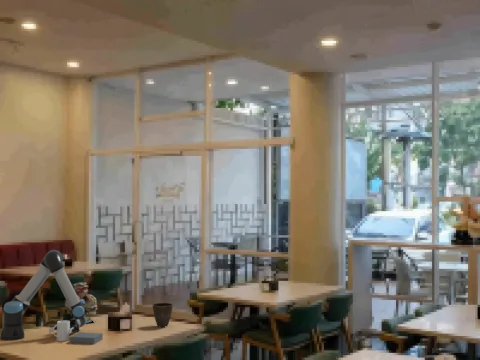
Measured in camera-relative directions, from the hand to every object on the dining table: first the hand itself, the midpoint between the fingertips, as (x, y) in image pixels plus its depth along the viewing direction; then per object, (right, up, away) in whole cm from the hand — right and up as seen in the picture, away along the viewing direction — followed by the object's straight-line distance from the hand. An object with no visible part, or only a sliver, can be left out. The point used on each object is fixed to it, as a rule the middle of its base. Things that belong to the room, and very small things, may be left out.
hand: (59, 330), depth 382 cm
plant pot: (+61, -10, +51) cm, 80 cm away
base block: (+18, -7, 0) cm, 19 cm away
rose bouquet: (-5, -10, +67) cm, 68 cm away
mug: (0, -7, +2) cm, 7 cm away
